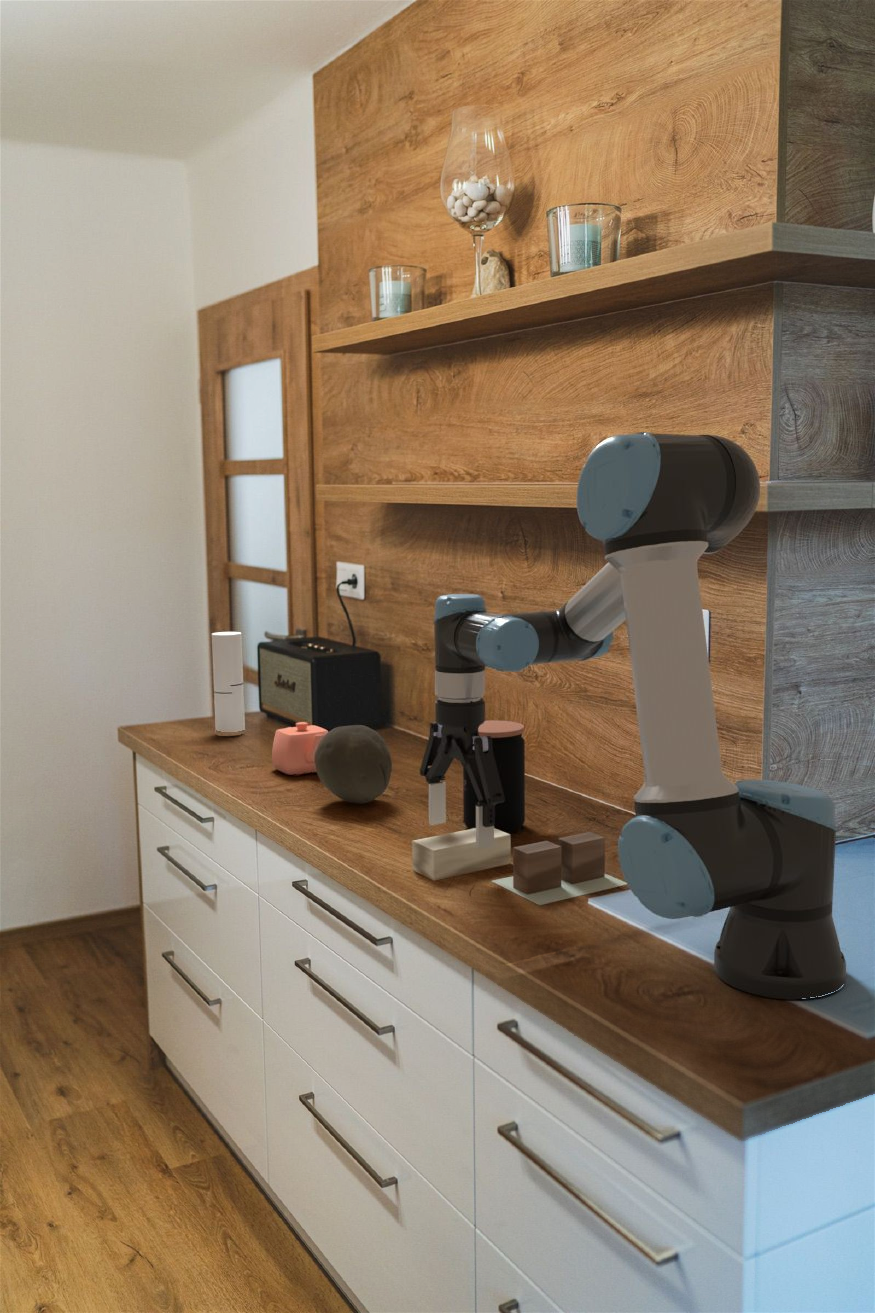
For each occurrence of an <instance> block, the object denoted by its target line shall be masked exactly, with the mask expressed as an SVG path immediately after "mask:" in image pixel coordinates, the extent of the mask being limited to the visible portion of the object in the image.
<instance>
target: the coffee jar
mask: <svg viewBox="0 0 875 1313" xmlns="http://www.w3.org/2000/svg"><path fill="white" fill-rule="evenodd" d="M478 731H479V736H480V737H485V736H491V738H492V746H493V754H494V758H495V762H496V766H497V770H498V774H499V777H500V781H501V785H502V789H503V793H504V797H505V801H504V802H501V803H497V804H496V805H495V824H494V828H495V829H498V830H500V831H503V832H505V833H508V834H510V835H512V834H514V833H517V832H519V831H520V830H521V828H522V827H523V825H524V823H525V822H526V819H525V818H526V816H525V815H526V814H525V813H526V809H525V808H526V806H525V805H526V799H525V798H526V795H525V794H526V790H525V789H526V787H525V785H526V784H525V783H526V782H525V780H526V775H525V773H526V772H525V770H526V767H525V764H526V763H525V762H526V761H525V758H526V757H525V754H526V753H525V752H526V750H525V749H526V748H525V747H526V744H525V743H526V742H525V739H524V738H523V737H522V734H524V732H525V726H524V724H522V723H520V722H516V721H511V720H510V721H509V720H497V719H495V720H492V719H491V720H485V722H484V723H483V724H481V725H480V726H479V728H478ZM473 757H475V754H474V756H473ZM496 795H497V794H496ZM484 796H485V795H484ZM462 802H463V803H462V805H463V807H462V808H463V811H462V814H463V816H462V817H463V818H462V819H463V823H464V825H465V827H466V828H467V830H468V829H473V828H476V804H477V803H478V802H479V800H478V798H477V795H476V792H475V790H474V787H473V785H472V782H471V780H470V777H469V775H468V772H467V770H466V767H465V766H463V765H462Z"/></svg>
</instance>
